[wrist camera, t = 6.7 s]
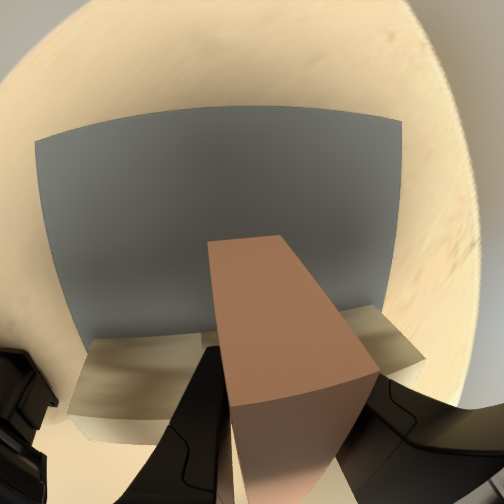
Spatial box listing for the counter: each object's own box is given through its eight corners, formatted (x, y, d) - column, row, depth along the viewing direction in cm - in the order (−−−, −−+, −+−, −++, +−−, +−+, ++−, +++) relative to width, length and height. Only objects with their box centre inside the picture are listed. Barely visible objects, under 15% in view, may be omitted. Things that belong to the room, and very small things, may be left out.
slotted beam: (106, 366, 15) (88, 440, 9) (94, 338, 14) (66, 414, 8) (366, 332, 18) (412, 387, 12) (372, 304, 17) (426, 358, 11)
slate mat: (131, 419, 18) (130, 428, 18) (43, 141, 10) (34, 141, 9) (351, 387, 22) (356, 395, 21) (391, 121, 14) (401, 121, 13)
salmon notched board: (269, 446, 16) (290, 515, 10) (237, 451, 15) (252, 522, 10) (280, 235, 9) (381, 370, 4) (207, 241, 9) (230, 406, 3)
